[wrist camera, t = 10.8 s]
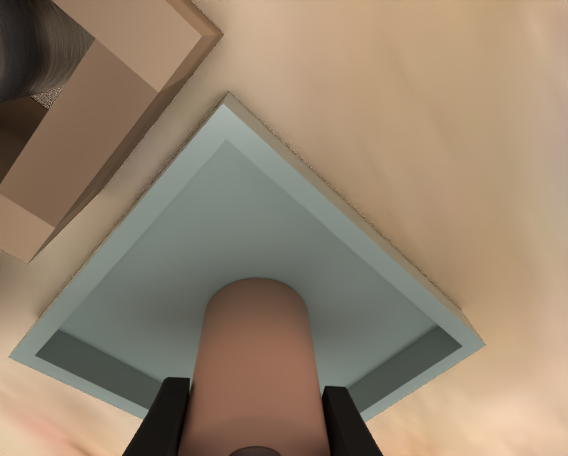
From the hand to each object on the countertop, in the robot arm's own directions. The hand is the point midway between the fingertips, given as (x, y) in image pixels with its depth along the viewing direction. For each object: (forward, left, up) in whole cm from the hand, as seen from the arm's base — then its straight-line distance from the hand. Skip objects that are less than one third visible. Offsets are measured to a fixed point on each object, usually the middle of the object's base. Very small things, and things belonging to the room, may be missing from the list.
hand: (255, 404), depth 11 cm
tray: (0, 0, -4) cm, 4 cm away
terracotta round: (0, 0, -3) cm, 3 cm away
